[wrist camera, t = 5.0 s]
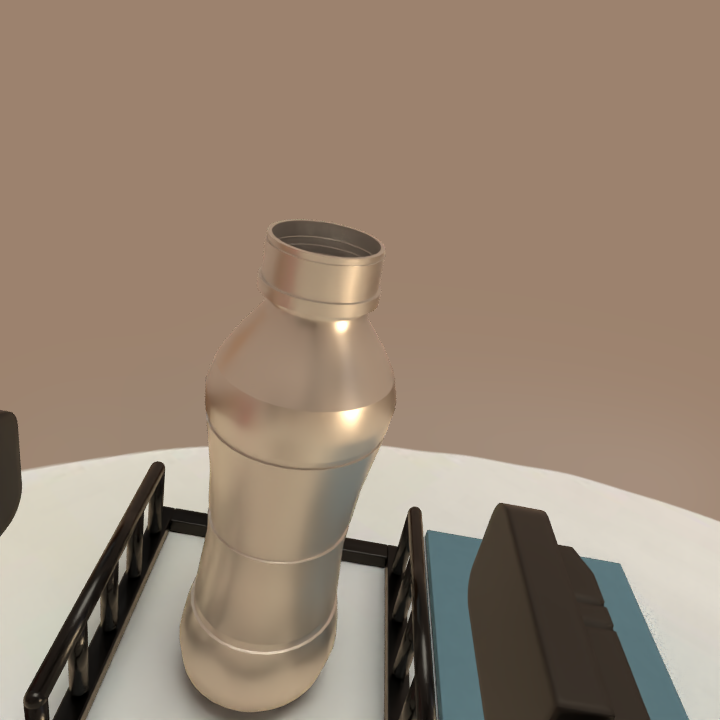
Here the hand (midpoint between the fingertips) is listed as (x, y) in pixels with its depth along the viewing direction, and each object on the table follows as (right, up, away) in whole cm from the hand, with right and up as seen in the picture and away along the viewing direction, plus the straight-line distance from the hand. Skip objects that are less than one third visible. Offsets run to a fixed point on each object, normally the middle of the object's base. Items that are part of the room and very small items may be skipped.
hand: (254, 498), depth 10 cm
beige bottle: (-3, -11, +18) cm, 21 cm away
